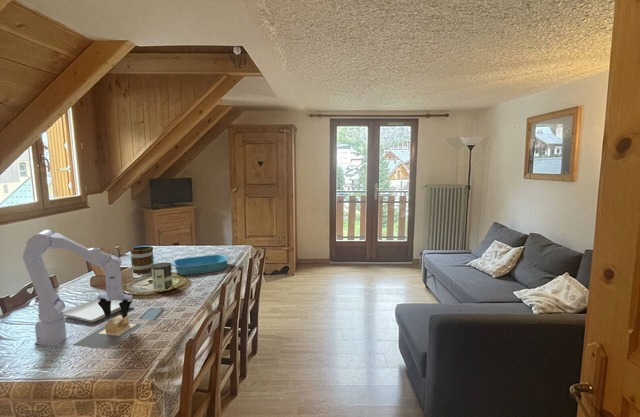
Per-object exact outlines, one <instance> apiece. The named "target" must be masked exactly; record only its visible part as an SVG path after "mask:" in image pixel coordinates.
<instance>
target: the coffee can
mask: <svg viewBox="0 0 640 417" xmlns="http://www.w3.org/2000/svg"><path fill="white" fill-rule="evenodd" d="M171 263H172V262H167V261H166V262H165V261H164V262H157V263H154V265H152V266H151V268H152V271H151V277H152V278H151V279H152V280H151V281H152V290H153V289H156V290H162V289H168V288H170V287H172V285H173V272H172V271H173V270H172V269H173V268H172V265H171Z"/></svg>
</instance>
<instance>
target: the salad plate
mask: <svg viewBox="0 0 640 417" xmlns="http://www.w3.org/2000/svg"><path fill="white" fill-rule="evenodd" d="M98 302H100V300H98V298H94V299H92V300H90V301H87V302H84V303H81V304H78V305H76V306H74V307H72V308H69V309H66V310H63V311H62V313H63V314H64V317H66V318H70V319H75V320H79V321H85V322H89V323H94V322H95V323H96V322H97V321H99V320H102V319H104V318H107V317H106V316H105V314H104V311H103V310H102V308H101V307H100V306H99V305H98ZM121 302H122V301H119V300H111V315H113V314H116V313H119V312H120V311H121V308H120V306H119V303H121ZM132 303H133V301H132V302H131V304H132ZM111 315H110V316H111Z"/></svg>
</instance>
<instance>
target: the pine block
mask: <svg viewBox="0 0 640 417" xmlns="http://www.w3.org/2000/svg"><path fill="white" fill-rule="evenodd" d="M129 323H130V321H129V315H127V317H125V318H122V314H121V315H117V316H115V317H113V318H112V319H110V320H109V321H108V322H106V323H105V324H104V326H105V329H106V333H113V334H116V333H118V332H119V331H120V330H122V329H123V328H125V327H126V326H128V325H129Z"/></svg>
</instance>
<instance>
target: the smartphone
mask: <svg viewBox="0 0 640 417" xmlns="http://www.w3.org/2000/svg"><path fill="white" fill-rule="evenodd" d="M164 310H165V308H164V307H160V308H156V307H155V308H148V309H147V310H146V312H144V313H143V314H142V316H140V317H139V320H146V321H156V320H157V318H158V317H159V316H160V315H161V314H162V313H163V312H164Z"/></svg>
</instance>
